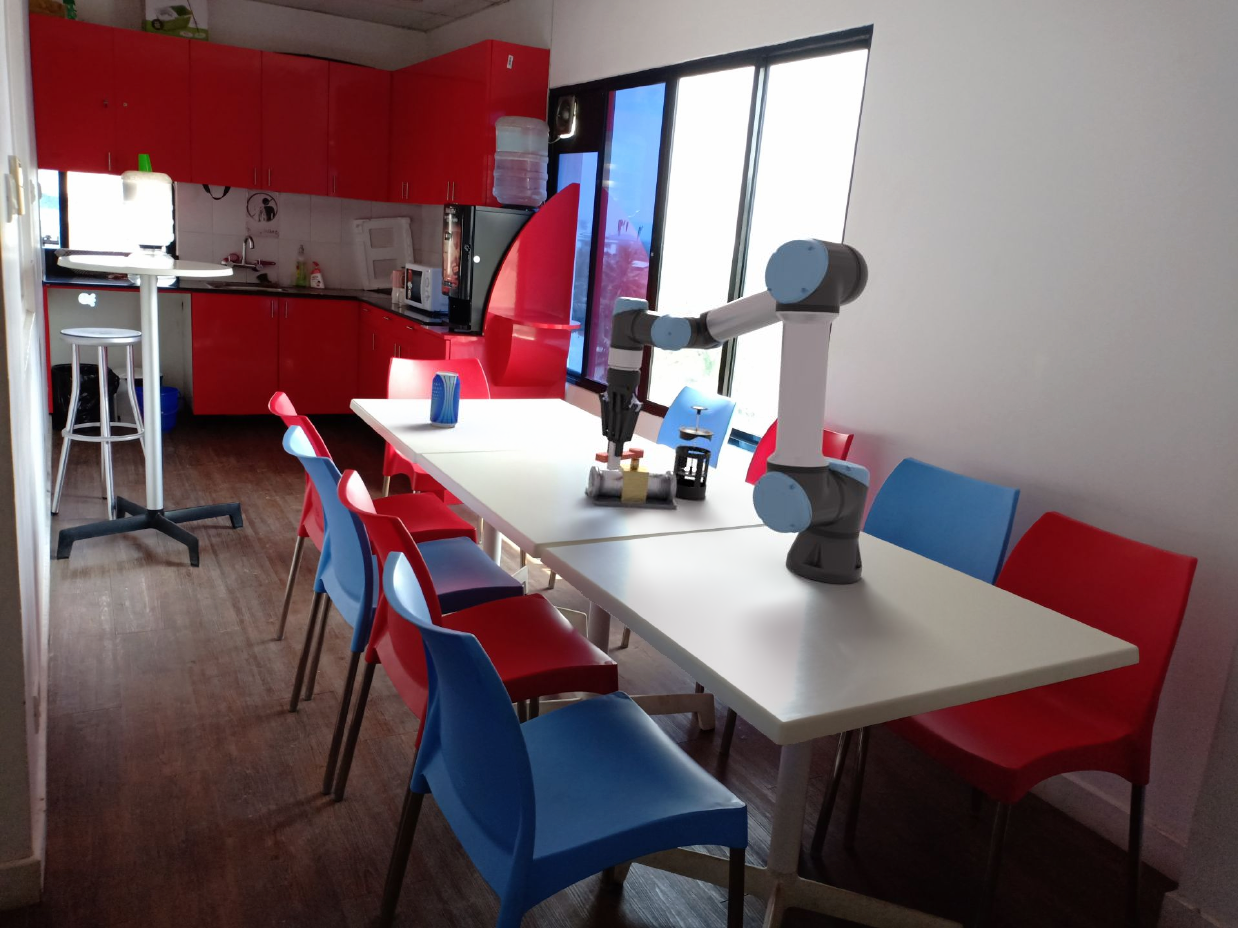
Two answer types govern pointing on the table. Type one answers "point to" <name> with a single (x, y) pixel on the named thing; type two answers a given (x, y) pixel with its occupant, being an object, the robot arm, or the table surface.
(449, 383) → the beer can
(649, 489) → the valve body
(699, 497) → the french press
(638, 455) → the lever
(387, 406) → the table surface
